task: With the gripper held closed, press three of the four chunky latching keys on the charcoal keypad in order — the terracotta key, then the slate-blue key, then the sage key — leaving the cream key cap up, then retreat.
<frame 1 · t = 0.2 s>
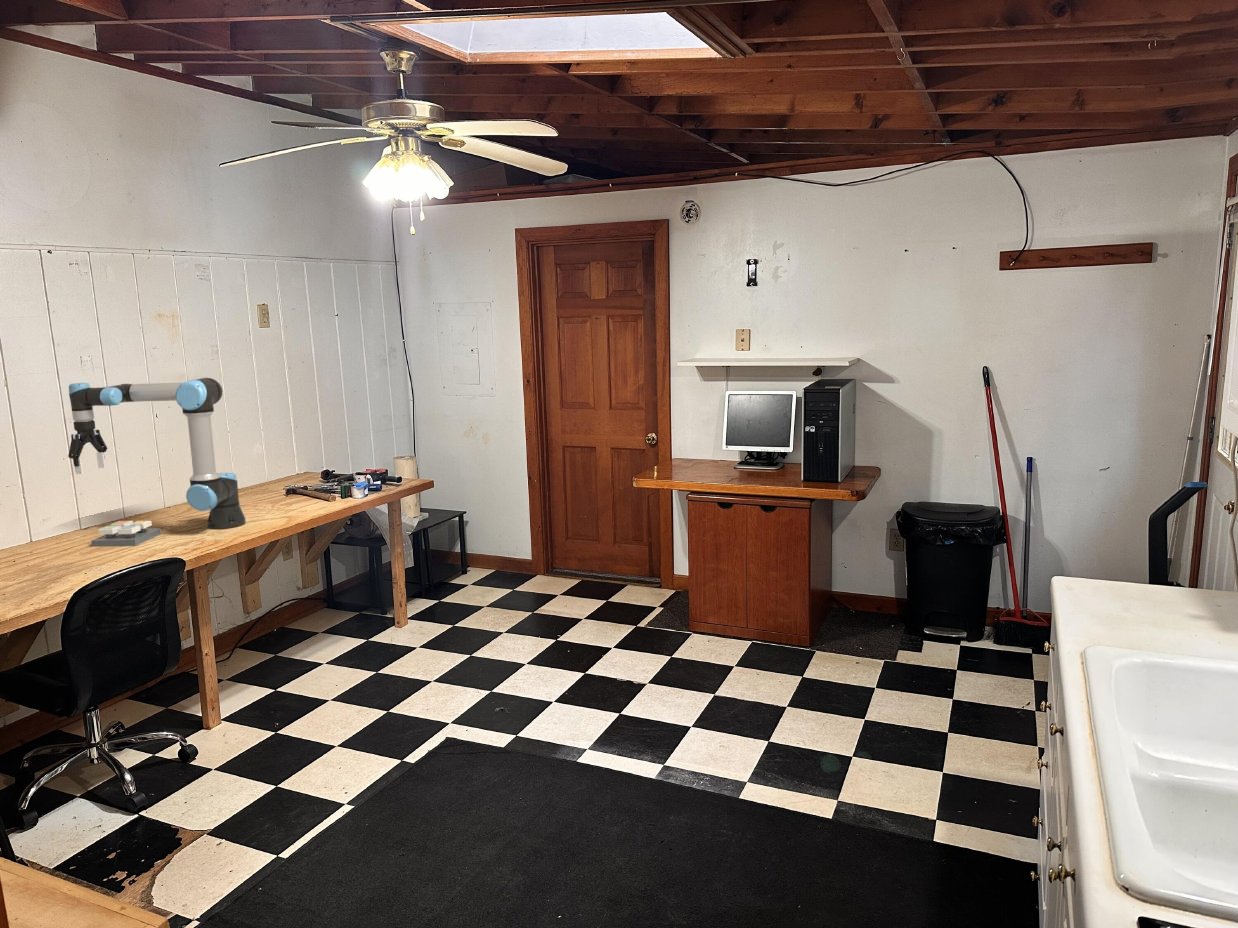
hand: (90, 470, 360), 27 cm above the workbench, fingers open, 13 cm apart
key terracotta: (122, 527, 358), point 4 cm above the workbench, slide at 0.0 cm
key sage: (110, 532, 350), point 4 cm above the workbench, slide at 0.0 cm
keypad board: (127, 540, 354), on the workbench
cream key cap: (141, 526, 357), point 5 cm above the workbench, slide at 0.0 cm
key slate: (129, 531, 349), point 5 cm above the workbench, slide at 0.0 cm
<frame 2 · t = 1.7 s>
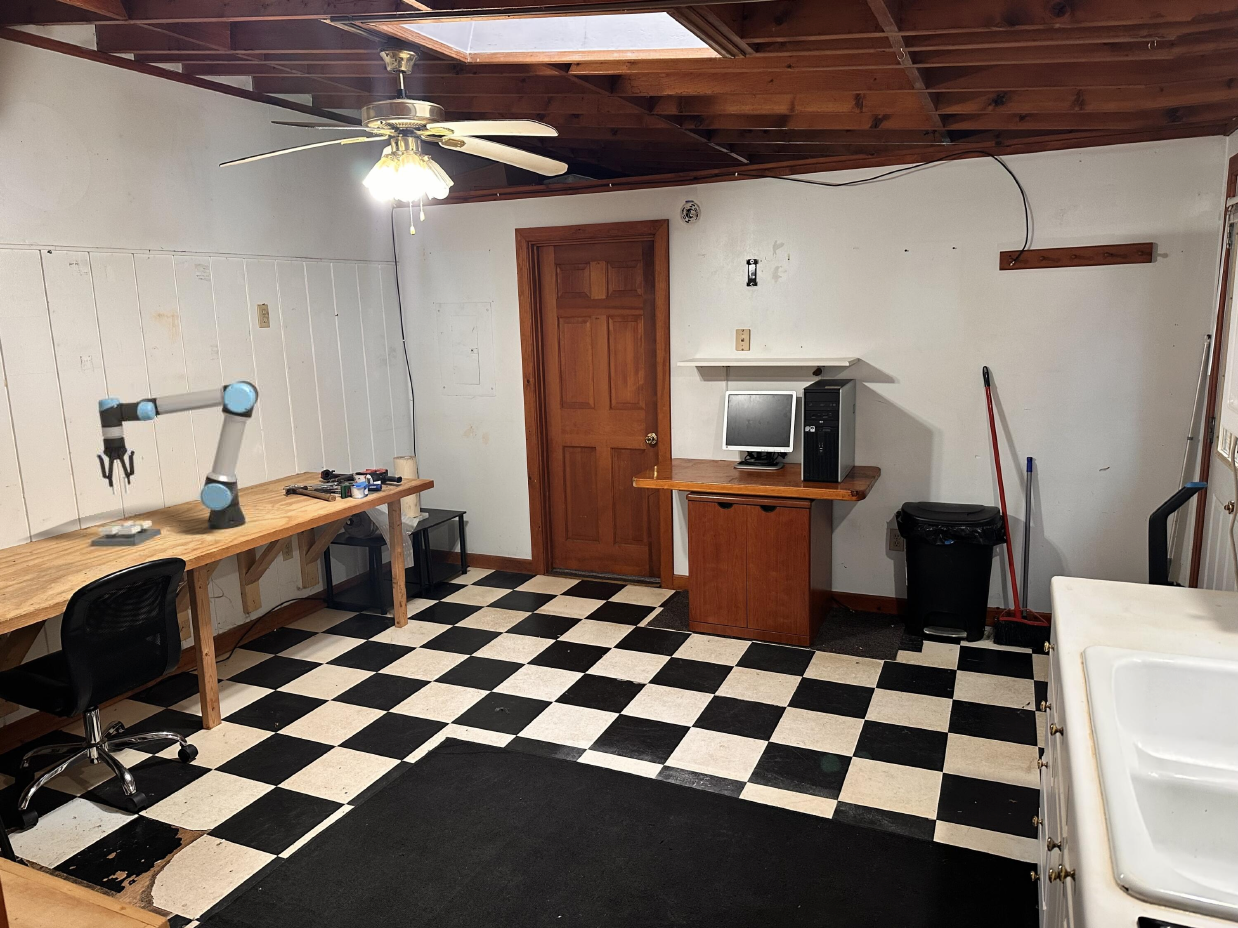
hand: (121, 493, 351), 20 cm above the workbench, fingers open, 4 cm apart
nothing on the workbench moved.
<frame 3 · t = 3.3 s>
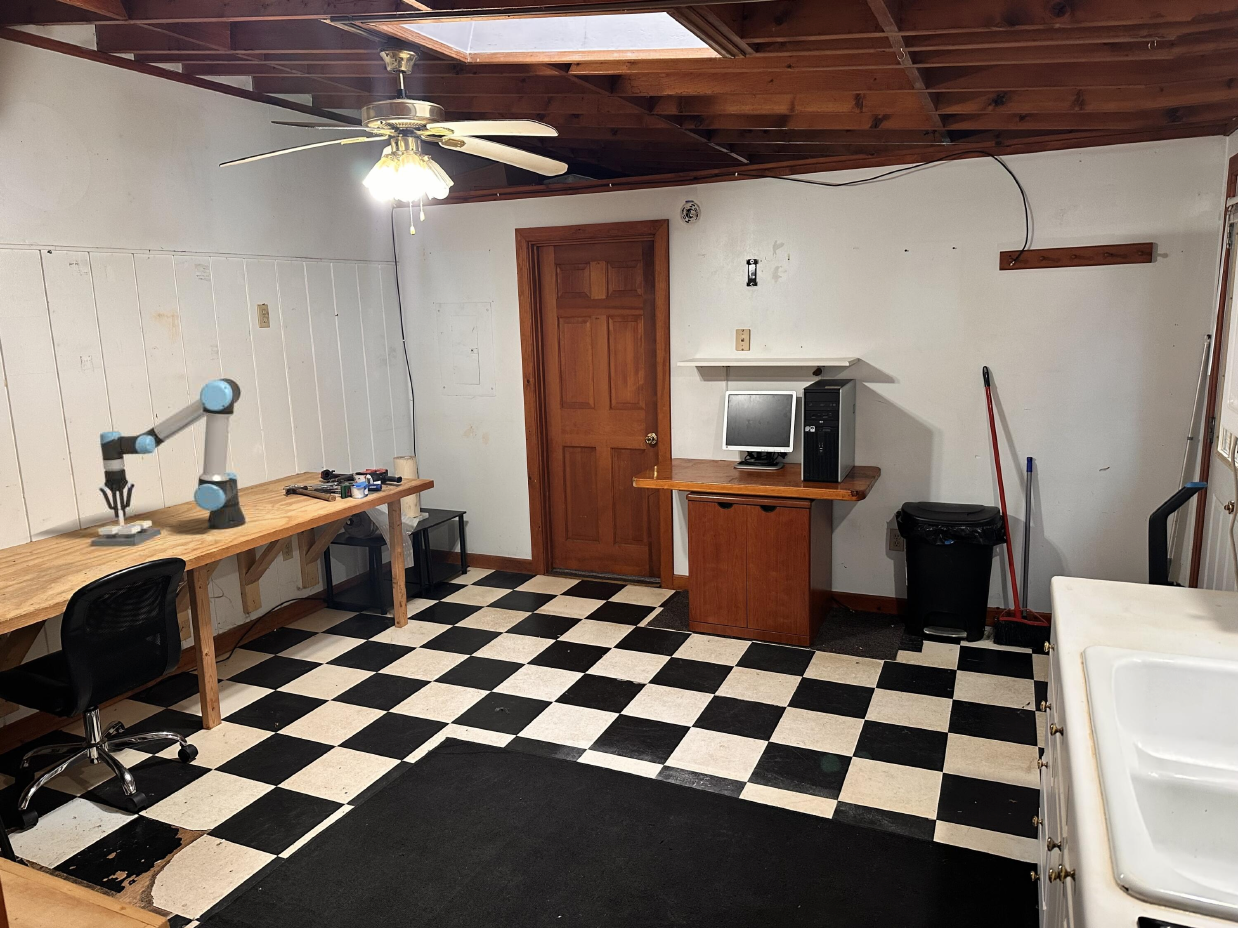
hand: (121, 524, 357), 5 cm above the workbench, fingers closed
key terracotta: (122, 530, 358), point 3 cm above the workbench, slide at 1.4 cm, touching gripper
everything else where it was.
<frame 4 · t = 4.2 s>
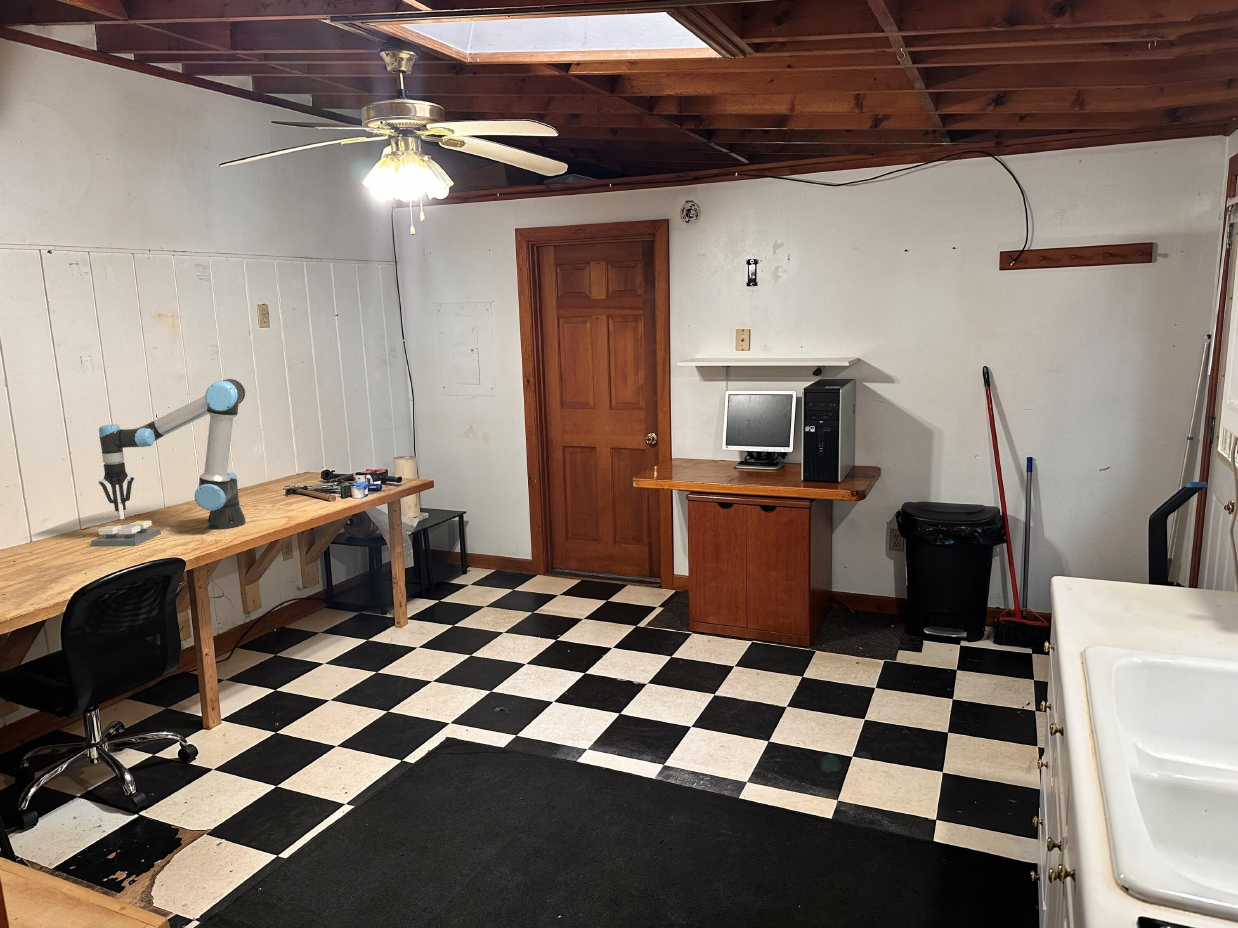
hand: (121, 518, 357), 8 cm above the workbench, fingers closed
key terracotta: (122, 531, 358), point 3 cm above the workbench, slide at 1.8 cm
everything else where it was.
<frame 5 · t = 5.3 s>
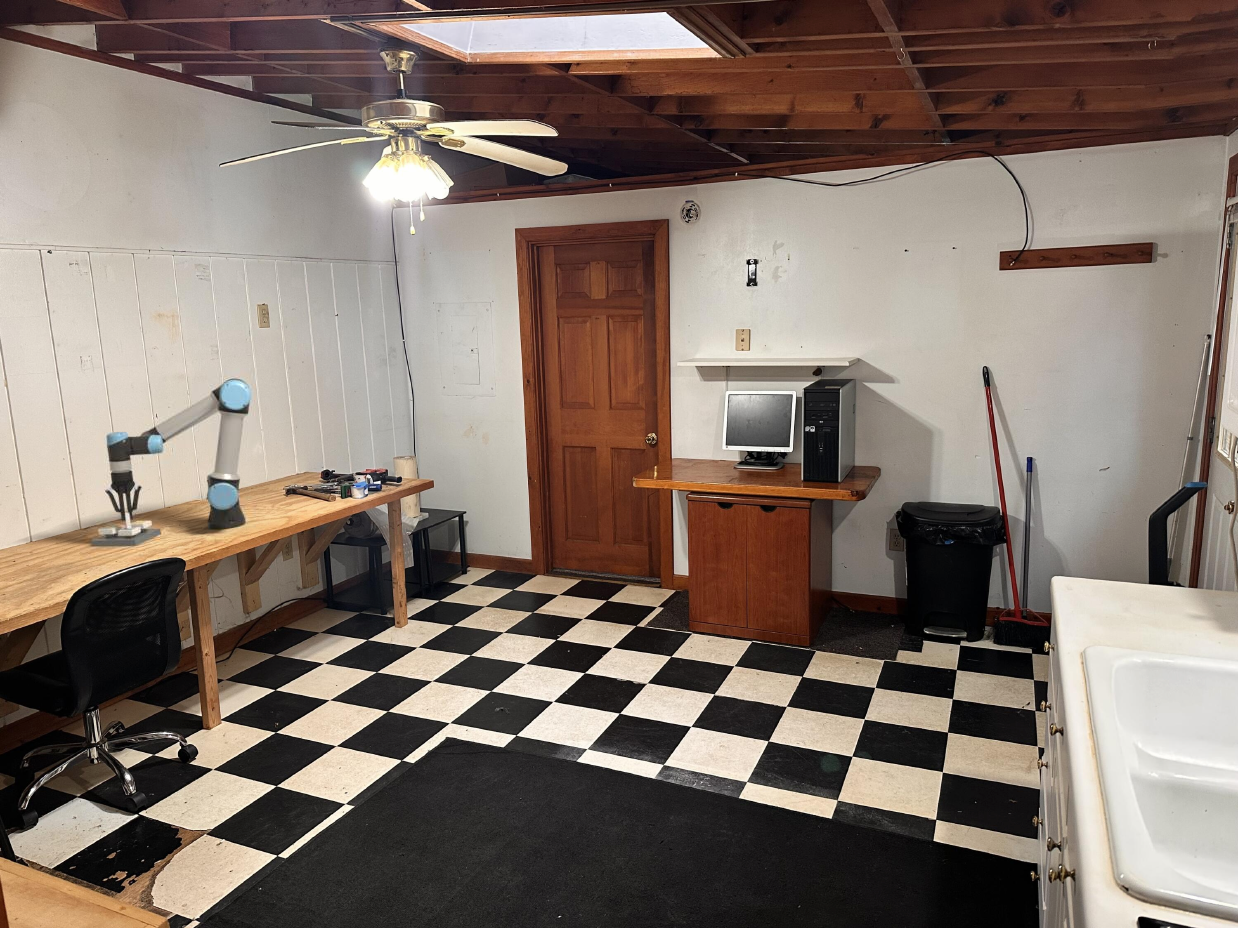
hand: (128, 527, 349), 6 cm above the workbench, fingers closed
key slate: (129, 533, 350), point 4 cm above the workbench, slide at 0.6 cm, touching gripper
everything else where it was.
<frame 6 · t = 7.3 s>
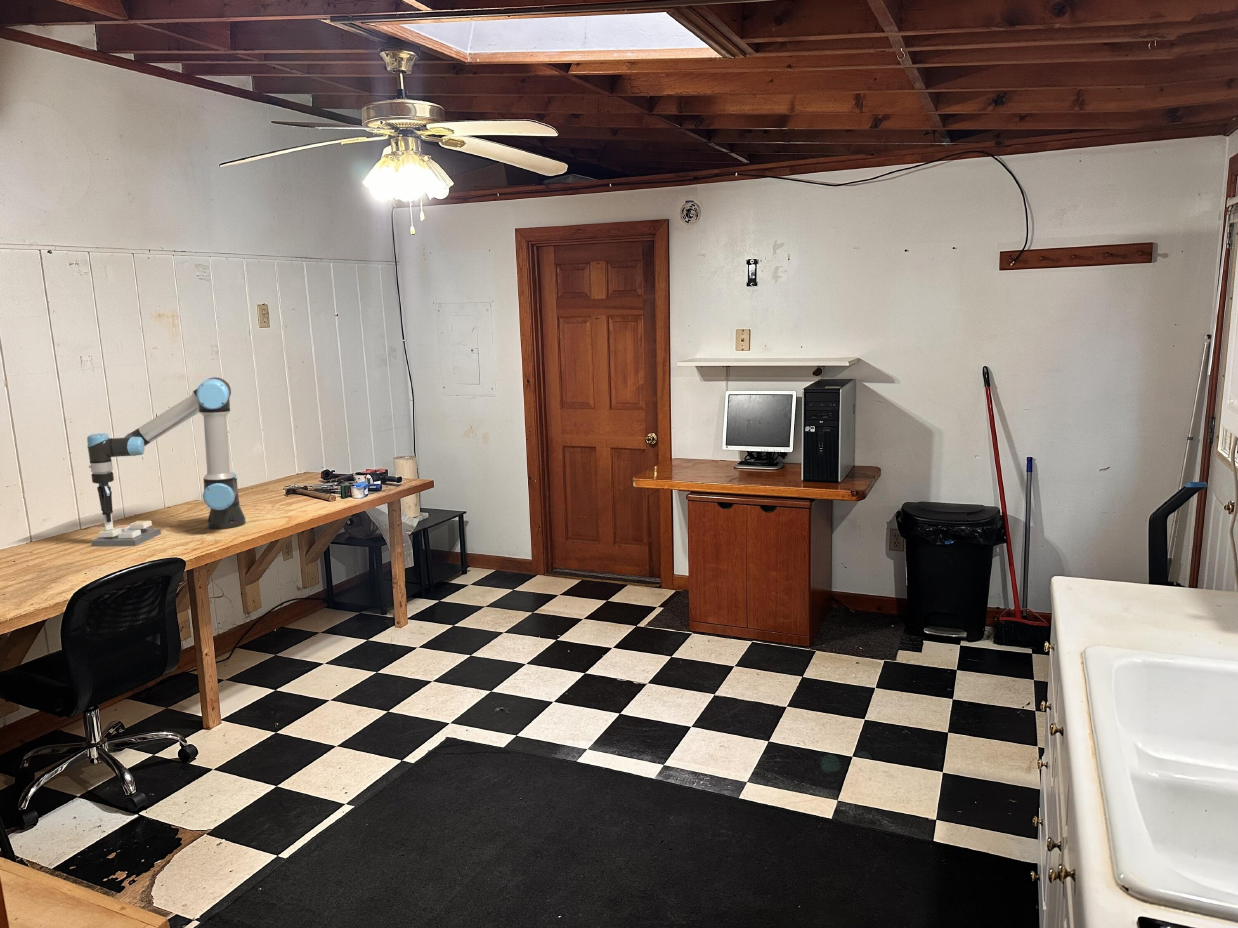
hand: (109, 529, 350), 6 cm above the workbench, fingers closed
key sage: (110, 534, 350), point 3 cm above the workbench, slide at 1.1 cm, touching gripper
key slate: (130, 536, 350), point 3 cm above the workbench, slide at 1.8 cm
everything else where it was.
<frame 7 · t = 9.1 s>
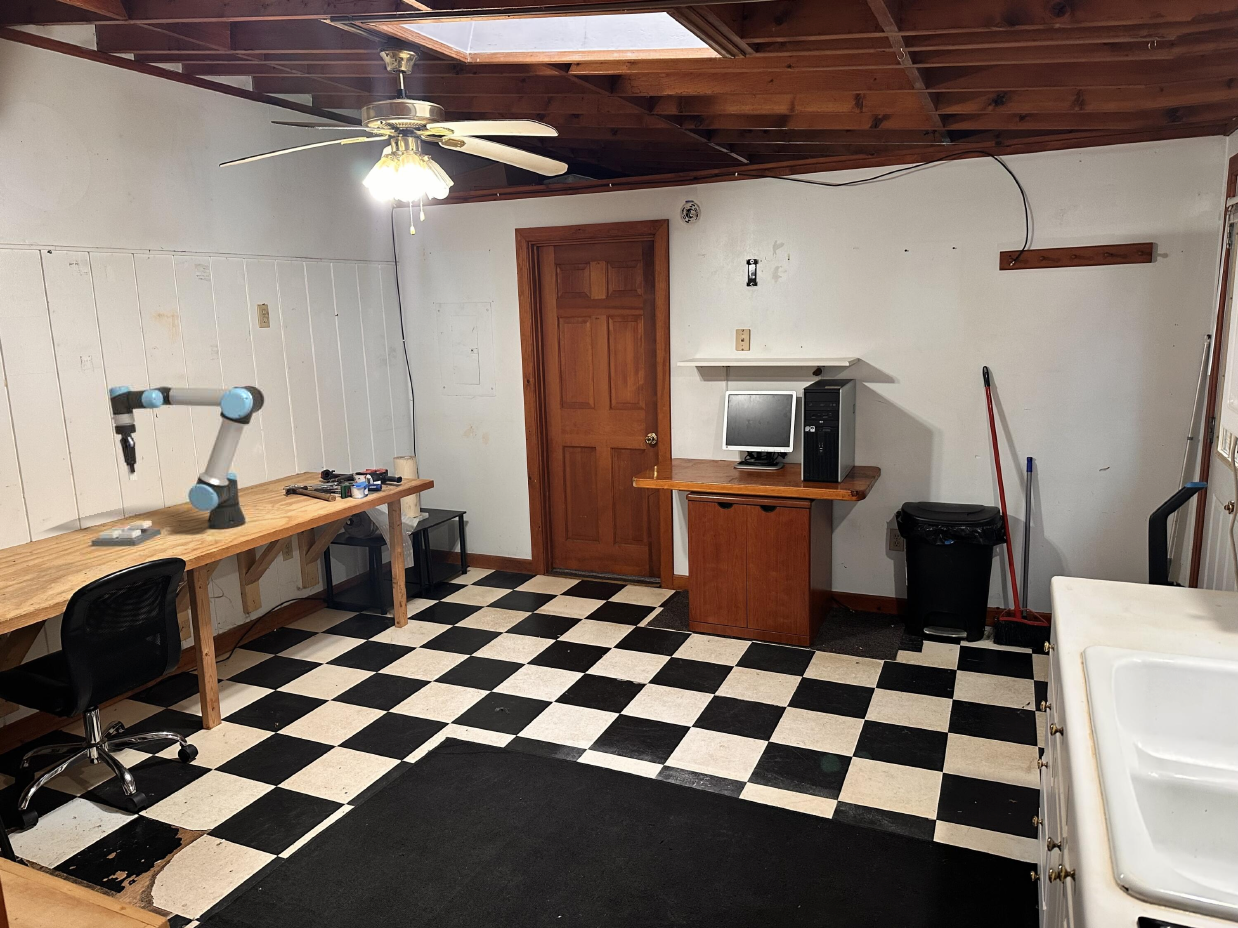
hand: (133, 479, 359), 23 cm above the workbench, fingers closed
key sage: (110, 536, 350), point 3 cm above the workbench, slide at 1.8 cm
everything else where it was.
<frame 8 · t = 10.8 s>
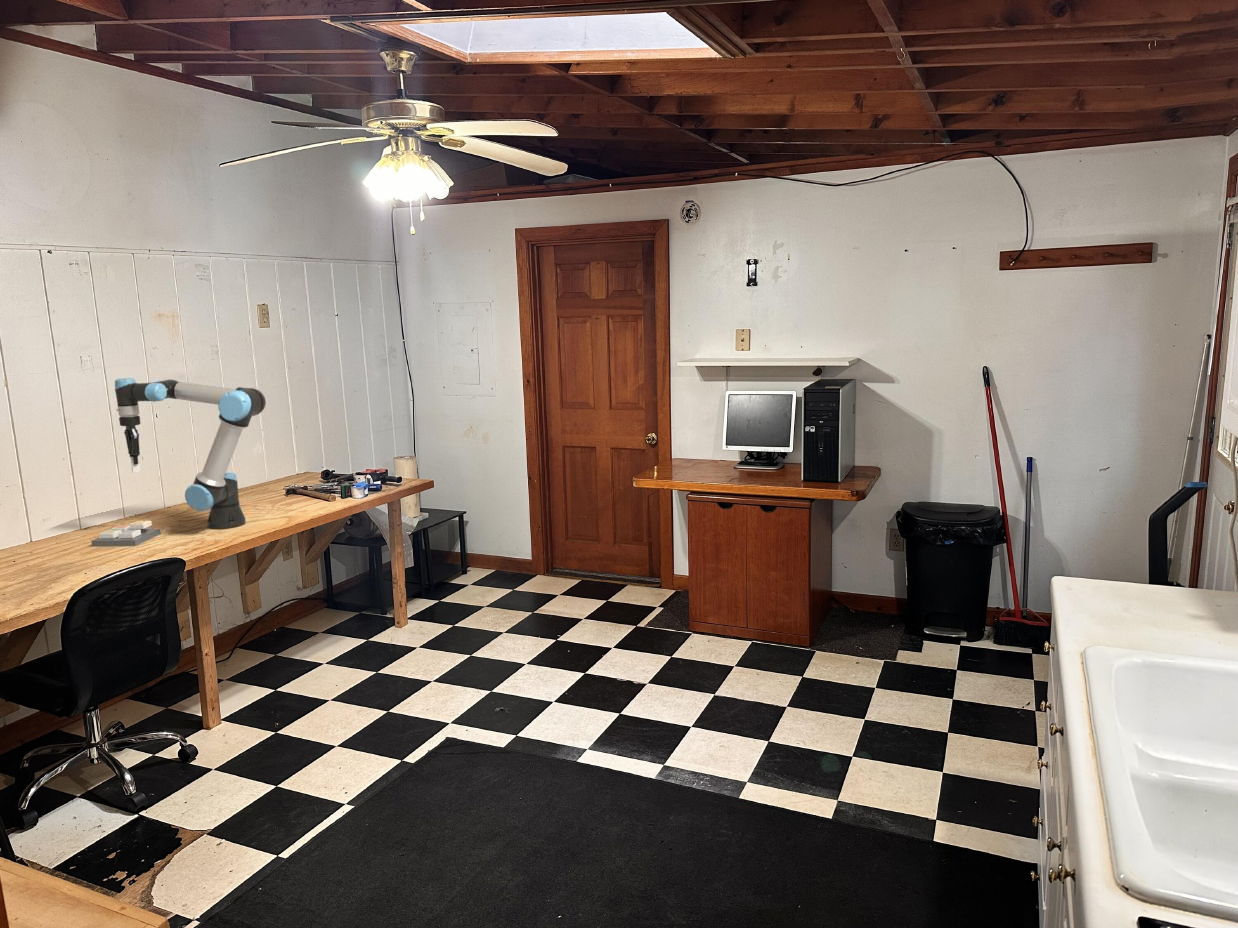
hand: (136, 471, 361), 26 cm above the workbench, fingers closed
nothing on the workbench moved.
at the end: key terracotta slide at 1.8 cm; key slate slide at 1.8 cm; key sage slide at 1.8 cm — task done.
